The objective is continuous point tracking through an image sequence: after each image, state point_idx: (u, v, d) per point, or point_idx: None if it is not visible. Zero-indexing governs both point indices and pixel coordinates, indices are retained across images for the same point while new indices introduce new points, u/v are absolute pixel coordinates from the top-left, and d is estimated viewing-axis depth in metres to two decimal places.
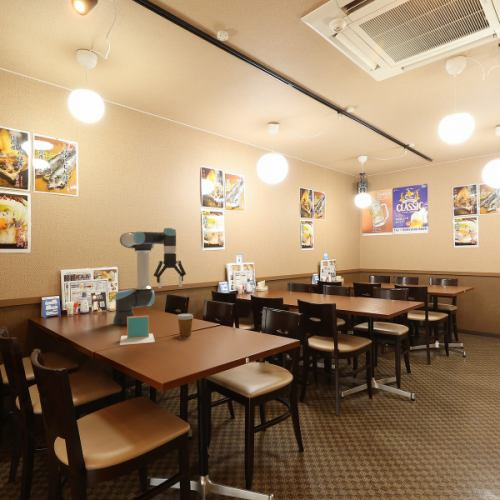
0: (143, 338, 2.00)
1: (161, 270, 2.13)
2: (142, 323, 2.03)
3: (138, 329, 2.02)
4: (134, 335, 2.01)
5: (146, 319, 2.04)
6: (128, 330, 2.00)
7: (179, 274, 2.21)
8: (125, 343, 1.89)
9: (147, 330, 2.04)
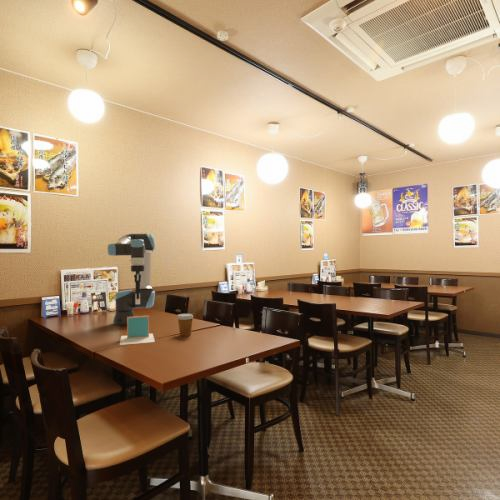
0: (143, 338, 2.00)
1: None
2: (142, 323, 2.03)
3: (138, 329, 2.02)
4: (134, 335, 2.01)
5: (146, 319, 2.04)
6: (128, 330, 2.00)
7: None
8: (125, 343, 1.89)
9: (147, 330, 2.04)
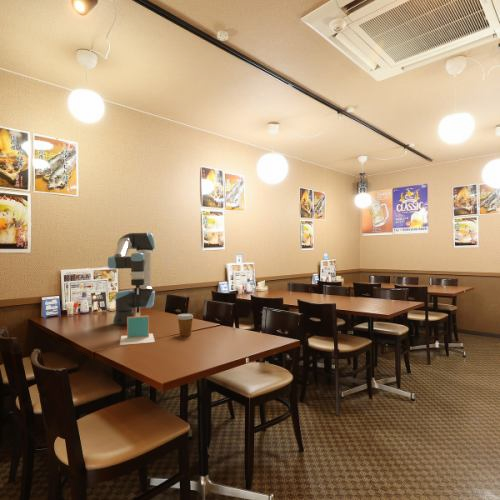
0: (143, 338, 2.00)
1: None
2: (142, 323, 2.03)
3: (138, 329, 2.02)
4: (134, 335, 2.01)
5: (146, 319, 2.04)
6: (128, 330, 2.00)
7: None
8: (125, 343, 1.89)
9: (147, 330, 2.04)
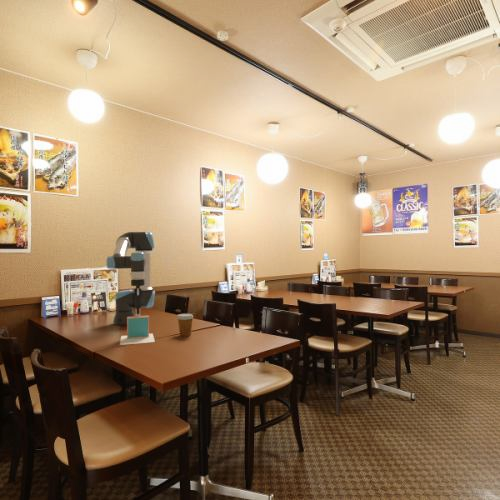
0: (143, 338, 2.00)
1: None
2: (142, 323, 2.02)
3: (138, 329, 2.02)
4: (134, 335, 2.01)
5: (146, 320, 2.03)
6: (128, 330, 2.00)
7: None
8: (125, 343, 1.89)
9: (147, 330, 2.03)
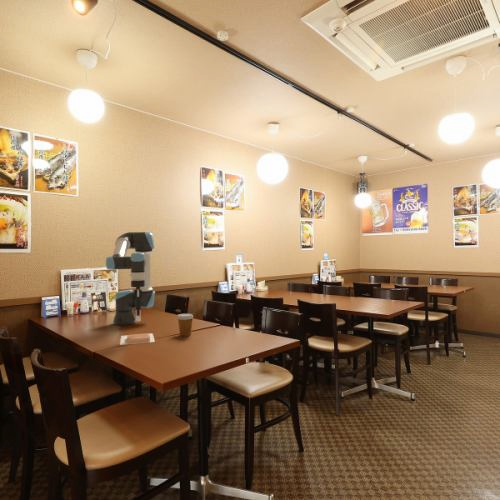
0: None
1: None
2: None
3: None
4: None
5: None
6: None
7: None
8: (125, 343, 1.89)
9: None
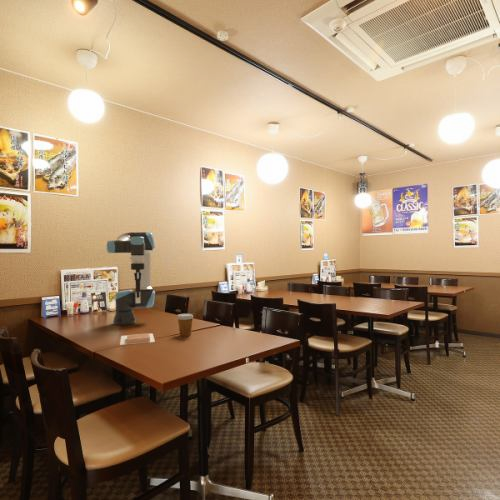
0: None
1: None
2: None
3: None
4: None
5: None
6: None
7: None
8: (125, 343, 1.89)
9: None
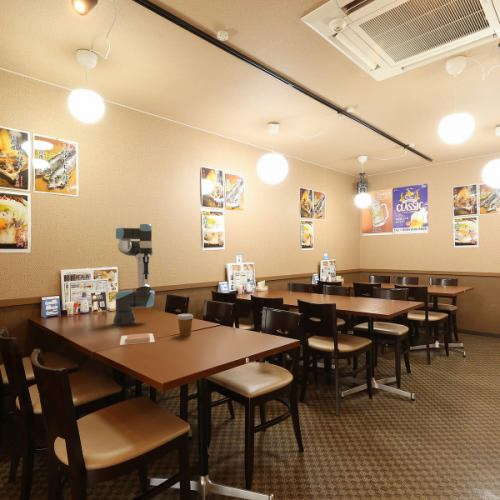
0: None
1: None
2: None
3: None
4: None
5: None
6: None
7: None
8: (125, 343, 1.89)
9: None
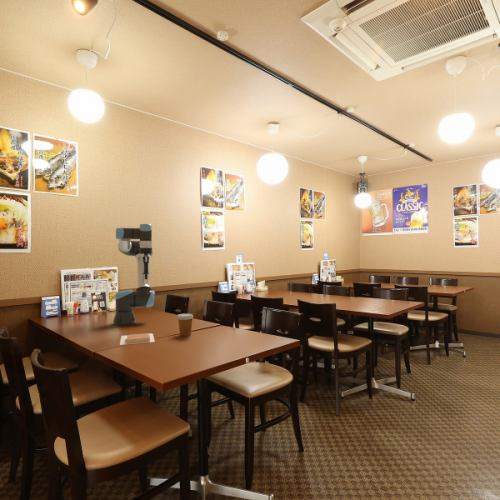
0: None
1: None
2: None
3: None
4: None
5: None
6: None
7: None
8: (125, 343, 1.89)
9: None
